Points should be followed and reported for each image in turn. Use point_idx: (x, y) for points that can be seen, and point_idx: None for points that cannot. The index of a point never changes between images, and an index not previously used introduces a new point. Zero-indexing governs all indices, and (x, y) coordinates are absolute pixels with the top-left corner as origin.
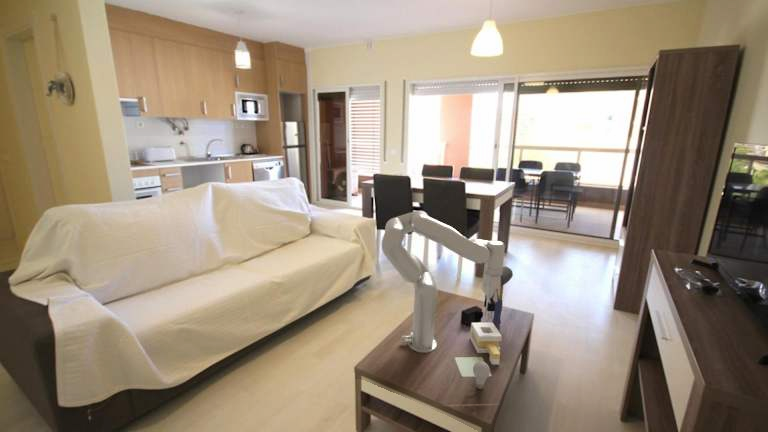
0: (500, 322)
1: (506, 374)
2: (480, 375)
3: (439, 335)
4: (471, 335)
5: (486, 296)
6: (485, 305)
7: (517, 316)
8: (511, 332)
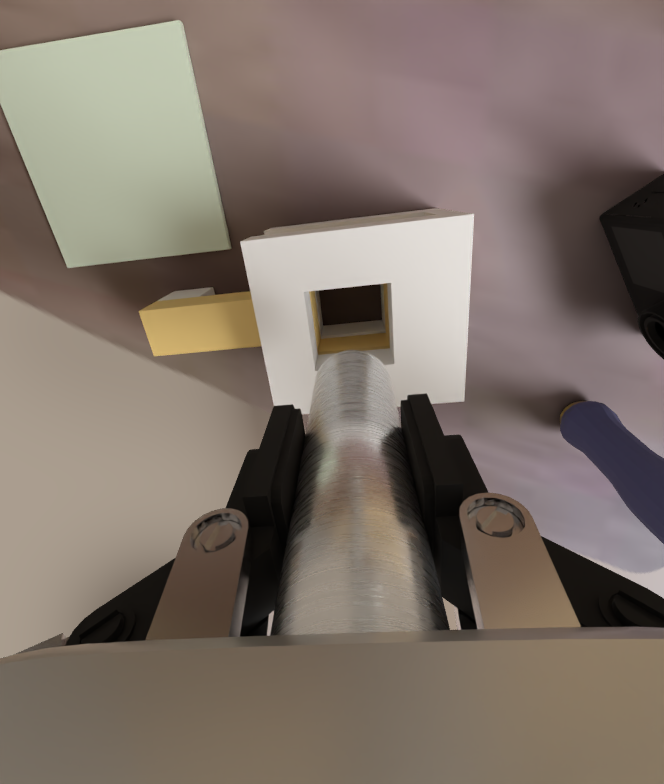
0: (572, 445)
1: (123, 347)
2: None
3: None
4: (425, 215)
5: (462, 551)
6: (402, 417)
7: (638, 533)
8: (491, 467)
